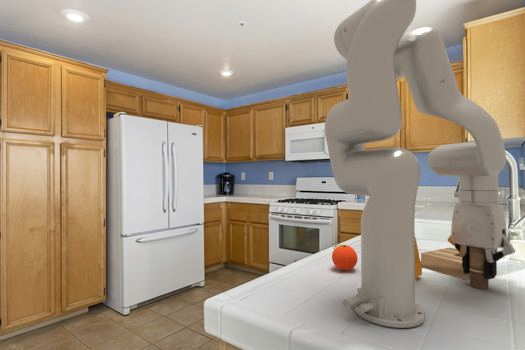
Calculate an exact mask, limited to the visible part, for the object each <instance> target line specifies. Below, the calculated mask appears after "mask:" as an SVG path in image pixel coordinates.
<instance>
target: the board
mask: <svg viewBox="0 0 525 350" xmlns="http://www.w3.org/2000/svg"><path fill="white" fill-rule="evenodd" d="M420 261H421V266H422V269H423V268H424V269H427V270H430V271H433V272H437V273H441V274H444V275H447V276H451V277H454V278H458V279H462V280H470V273H468V274H465V273H464V272H463V268H462V256H461V255H460V252H459V251H458V250H457V249H456V248H455V247H446V248H441V249H436V250H435V249H434V250H430V251H423V252H421V253H420Z"/></svg>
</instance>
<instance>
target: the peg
mask: <svg viewBox="0 0 525 350" xmlns="http://www.w3.org/2000/svg"><path fill="white" fill-rule="evenodd" d="M469 259H470V267H469V270H470V279H469V286H470V287H471V288H474V289H477V290H489V282H490V281H489V280H490V279H489V280H487V279H485V278H484V262H486V261H487V257H486V252H485V249H483V248H478V247H472V246H469Z"/></svg>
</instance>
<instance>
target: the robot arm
mask: <svg viewBox="0 0 525 350" xmlns="http://www.w3.org/2000/svg"><path fill="white" fill-rule="evenodd" d="M416 12H417V0H369V1H368V2H367V3H365V4H364V5H363V6H361V7H360V8H358V10H356V11H354V12H353V13H352V14H351V15H349V16H347V17H346V18H345V19H343V20H342V21H341V22H340V23H339V25H337V27H336V28H335V30H334V35H333V42H334V46H335V48H336V51H337V52H338V54H340V56H341V57H342V58H344V59H345V60H346V63H345V75H346V83H347V91H348V99H345V100H343V101H341V102H338V103H336V104H335V105H333V106H332V107H331V108H330V110H329V111H328V113H327V115H326V117H325V123H324V134H325V140H326V146H327V151H328V156H329V161H330V167H331V171H332V175H333V180H334V181H335V184H336V185H337V187H338V188H339V189H340V190H341V192H344V193H345V194H349V195H353V196H364V197H368V199H367V201H366V203H365V205H364V207H363V210H362V213H361V216H360V252H361V255H360V260H361V261H360V262H361V263H360V267H361V269H360V270H361V272H360V274H361V277H360V278H361V285H360V286H361V287H358V288H357V294H355V295H354V297H347V298H344V299H343V301H342V306H343V308H344V309H345V310H347V311H350V310H354V312H355V313H356V314H357V315H358V316H359V317H360V318H362V319H364V320H366V321H368V322H370V323H373V324H375V325H379V326H385V327H388V328H389V327H390V328H398V329H399V328H401V329H405V328H414V327H415V328H416V327H418V326H420V325H421V324H423V323H424V321H425V320H426V319H425V318H426V317H425V315H426V313H425V311H424V309H423V308H422V307H421V305H419V304H418V303H416V281H415V238H416V236H415V235H416V234H415V220H416V219H415V217H416V216H415V213H416V200H417V197H418V196H417V194H418V189H419V185H420V180H421V174H422V173H421V172H422V171H421V165H420V162H419V160H418V158H417V156H416V155H415V154H414V153H412V151H410V150H408V149H405V148H402V147H396V146H395V147H394V146H391V147H389V146H387V147H380V148H379V147H377V148H369V149H366V148H365V147H366V146H365V144H369V143H370V144H371V143H376V142H382V141H386V140H390V139H392V138H394V137H395V136H397V135H398V134H399V132H400V131H401V129H402V125H403V115H402V107H401V100H400V94H399V89H398V82H397V80H399V79H401V78H404V79H405V82H406V84H407V87H408V90H409V92H410V96H411V98H412V101H413V103H414V107H415V109H416V110H417V111H418V112H419V113H421V114H424V115H427V116H432V117H436V118H440V119H442V120H443V119H444V120H446V121H449V122H452V123H455V124H457V125H459V126H460V127H462V128H463V129H465V131H467V132H468V134H470V135H471V137H472V139H473V141H468V142H467V141H466V142H457V143H448V144H443V145H439V146H437V147H435V148H433V149H432V150H431V151H430V152H429V154H428V157H427V164H428V165H427V166H428V168H429V169H430V171H431V172H432V173H434V174H435V175H437V176H440V177H444V178H445V177H447V178H449V177H450V178H456V177H457V178H458V184H459V185H458V186H459V187H458V191H454V193H453V197H455V198H457V199H458V202H455V204H454V207H453V211H452V212H453V213H452V218H451V229H450V231H451V232H450V235H449V236H448V238H447V242H448V243H449V244H451V245H452V246H453V247H454V248H455V249H457V250H458V251H459V252H460V255H461V256H462V268H463V272H464V273H465V274H468V273H470V270H469V267H470V259H469V246H472V247H478V248H483V249H485V252H486V257H487V261H486V262H484V278H485V279H487V280H492V279H495V278H496V276H497V275H498V274H497V273H498V271H497V269H498V265H497V262H498V261H500V260H501V259H503V258H505V257H506V256H509V255H512V254H514V253H516V249H515V248H514V247H513V244H512V243H511V242H510V241H509V239H508V230H507V229H508V228H507V221H506V216H505V213H504V208H503V204H500V203H499V202H500V201H499V200H500V199H499V195H500V194H499V173H501V172H502V171H503V169H505V166H506V163H507V152H506V148H505V144H504V141H503V137H502V133H501V131H500V128H499V125H498V123H497V122H496V120H495V119H494V117H493V116H492V115H491V114H490V113H489V112H487V111H486V110H485V109H484V108H483V107H482V106H480V104H478V103H476V102H474V101H472V99H469V98H467V97H466V96H464V95H463V94H462V93H461V91H460V88H459V86H458V82H457V79H456V76H455V72H454V70H453V68H452V64H451V61H450V58H449V55H448V52H447V48H446V46H445V43H444V40H443V37H442V34H441V33H440V32H439V30H438V29H437V28H435V27H431V26H423V27H419V28H416V29H414V30H411V31H408V29H409V28H410V27H411V25H412V23H413V21H414V19H415V16H416ZM407 31H408V32H407ZM406 32H407V33H406ZM498 248H503V249H502V250H500V251H498Z"/></svg>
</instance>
